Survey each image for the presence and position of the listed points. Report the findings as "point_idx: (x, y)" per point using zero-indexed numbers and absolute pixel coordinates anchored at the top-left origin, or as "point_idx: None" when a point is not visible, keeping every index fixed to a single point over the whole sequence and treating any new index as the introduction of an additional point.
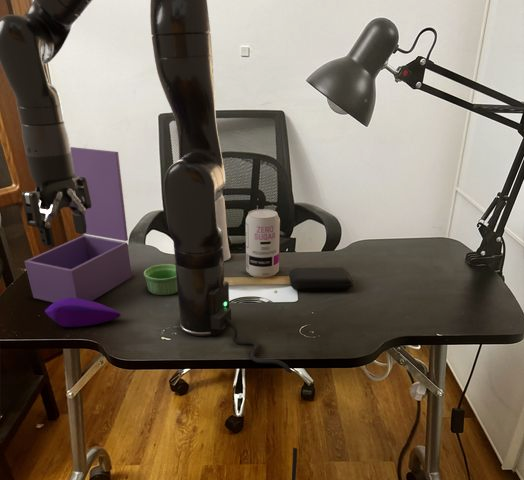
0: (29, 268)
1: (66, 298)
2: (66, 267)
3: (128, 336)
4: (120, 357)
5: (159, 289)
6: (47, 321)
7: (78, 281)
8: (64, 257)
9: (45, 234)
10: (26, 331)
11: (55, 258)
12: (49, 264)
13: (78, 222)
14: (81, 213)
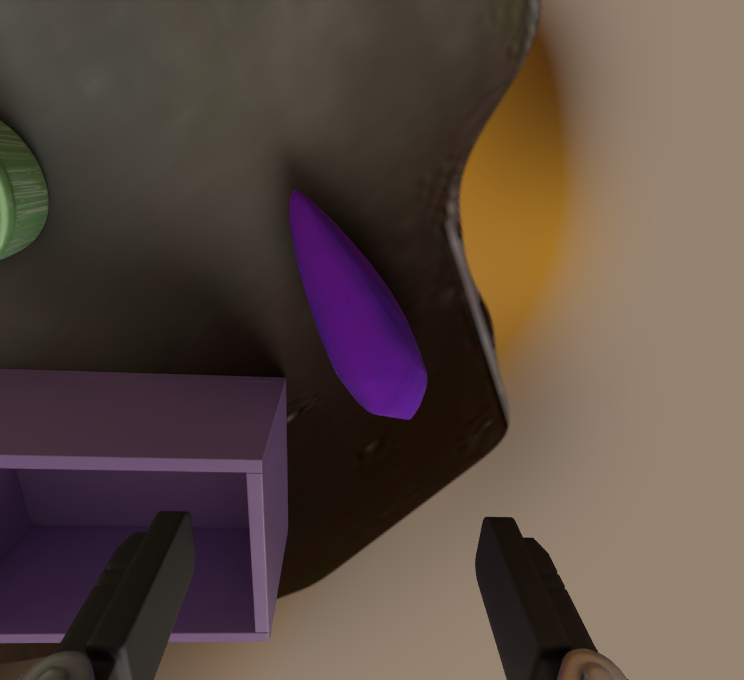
0: (272, 606)
1: (354, 391)
2: None
3: (384, 92)
4: (525, 27)
5: (24, 165)
6: None
7: (245, 425)
8: None
9: (574, 613)
10: (461, 417)
11: None
12: None
13: (159, 609)
14: (93, 670)
